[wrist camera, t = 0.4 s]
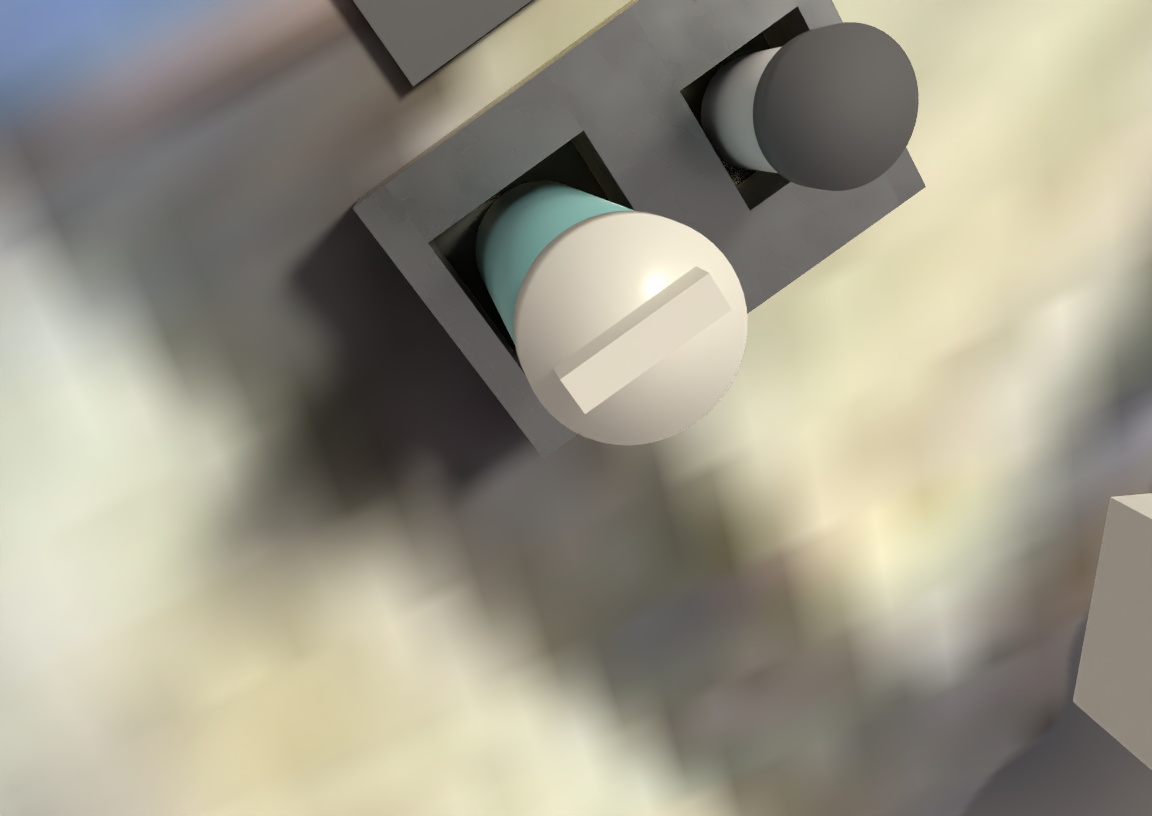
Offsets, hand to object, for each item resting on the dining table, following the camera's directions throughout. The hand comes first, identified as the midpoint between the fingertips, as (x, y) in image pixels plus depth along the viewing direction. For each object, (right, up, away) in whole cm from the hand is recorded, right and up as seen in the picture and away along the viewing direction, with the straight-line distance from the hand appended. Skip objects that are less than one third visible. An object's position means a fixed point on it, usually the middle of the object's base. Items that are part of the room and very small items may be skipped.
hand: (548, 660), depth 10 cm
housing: (+2, +11, +26) cm, 28 cm away
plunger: (+7, +13, +23) cm, 28 cm away
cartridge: (-1, +9, +26) cm, 27 cm away
